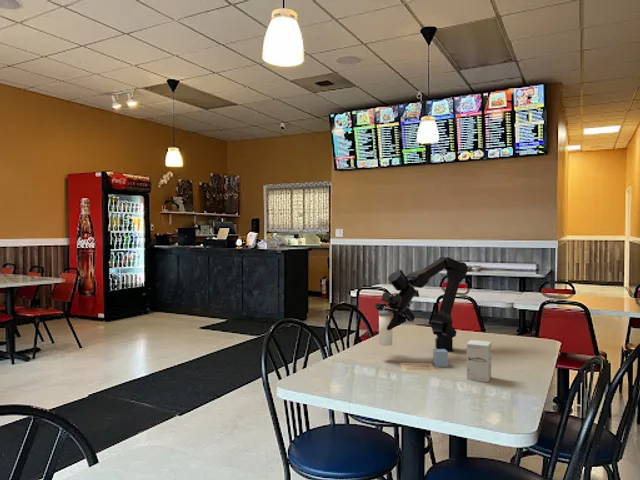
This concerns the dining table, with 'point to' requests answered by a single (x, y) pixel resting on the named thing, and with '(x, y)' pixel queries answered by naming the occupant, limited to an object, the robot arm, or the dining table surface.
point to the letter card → (417, 367)
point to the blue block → (440, 357)
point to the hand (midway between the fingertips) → (383, 328)
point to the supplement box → (479, 360)
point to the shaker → (385, 327)
